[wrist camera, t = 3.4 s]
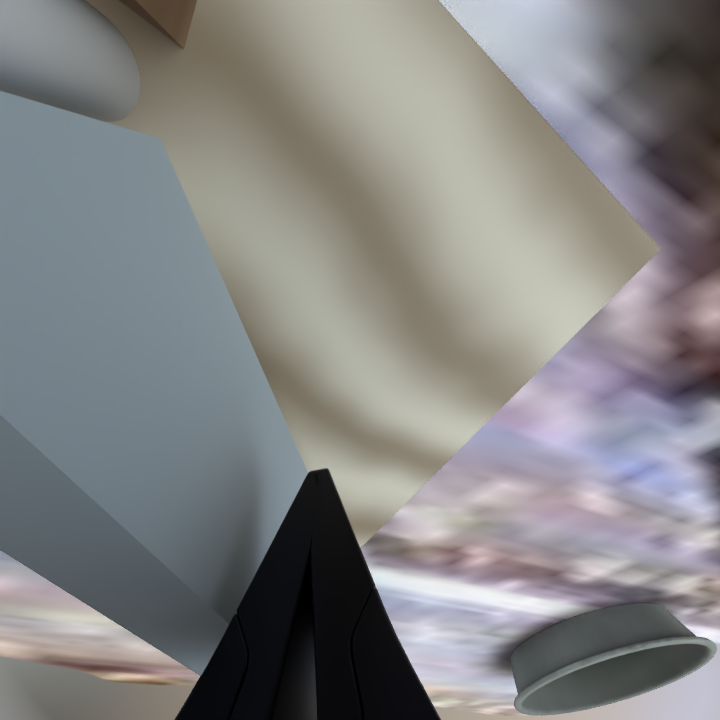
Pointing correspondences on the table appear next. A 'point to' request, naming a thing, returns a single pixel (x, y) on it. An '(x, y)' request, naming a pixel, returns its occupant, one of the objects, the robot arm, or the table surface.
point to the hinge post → (166, 16)
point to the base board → (379, 222)
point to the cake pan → (604, 659)
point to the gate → (121, 355)
